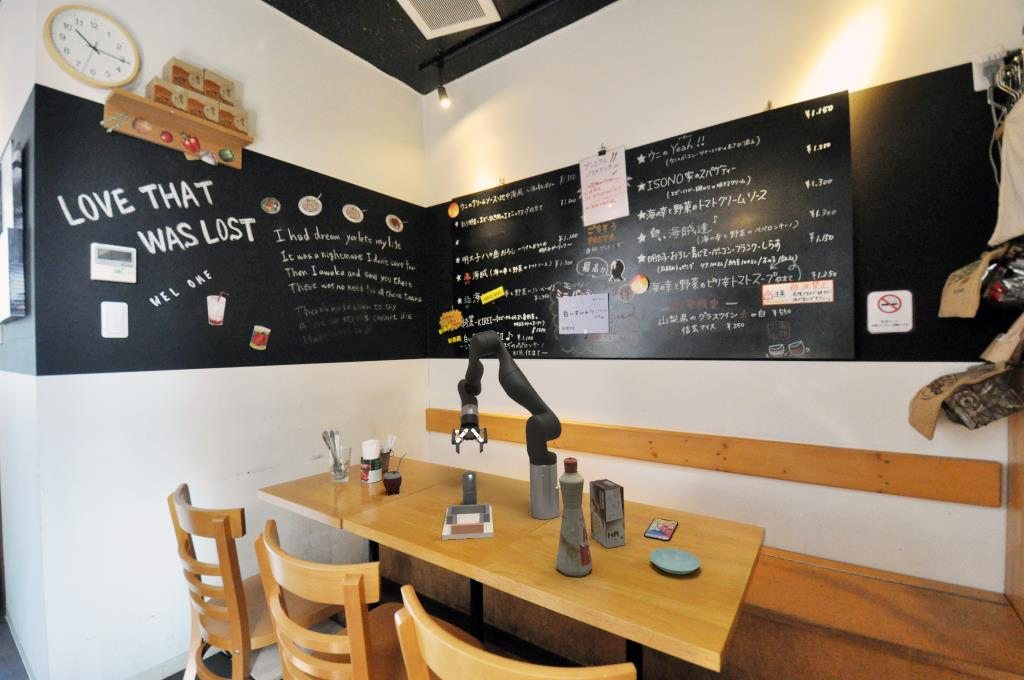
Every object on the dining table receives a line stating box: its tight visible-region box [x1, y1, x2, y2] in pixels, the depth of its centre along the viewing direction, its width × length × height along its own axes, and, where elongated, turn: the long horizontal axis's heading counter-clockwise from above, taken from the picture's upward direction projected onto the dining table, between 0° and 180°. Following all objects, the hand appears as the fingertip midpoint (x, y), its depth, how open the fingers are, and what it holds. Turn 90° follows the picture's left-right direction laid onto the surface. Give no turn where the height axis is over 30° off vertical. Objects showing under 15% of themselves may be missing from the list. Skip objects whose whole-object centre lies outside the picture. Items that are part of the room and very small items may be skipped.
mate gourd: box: [382, 452, 407, 496], centre depth 173 cm, size 8×8×15 cm
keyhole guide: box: [441, 503, 494, 541], centre depth 140 cm, size 15×22×4 cm
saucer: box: [649, 547, 701, 575], centre depth 110 cm, size 12×12×2 cm
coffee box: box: [588, 478, 626, 549], centre depth 126 cm, size 9×6×16 cm
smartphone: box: [643, 517, 679, 543], centre depth 133 cm, size 7×1×15 cm
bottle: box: [555, 456, 593, 577], centre depth 111 cm, size 9×9×28 cm
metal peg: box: [462, 471, 478, 505], centre depth 158 cm, size 5×5×11 cm
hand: (469, 452), depth 171 cm, fingers open, 8 cm apart
